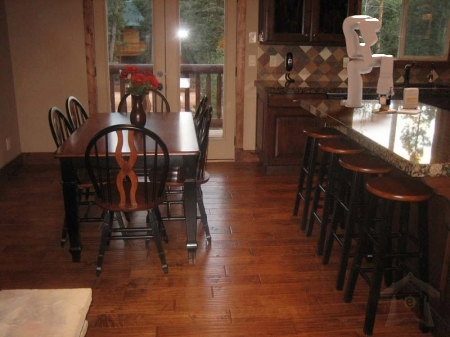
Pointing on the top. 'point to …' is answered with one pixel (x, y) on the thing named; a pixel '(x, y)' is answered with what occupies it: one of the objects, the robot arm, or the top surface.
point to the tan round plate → (384, 110)
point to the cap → (383, 100)
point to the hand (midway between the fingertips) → (384, 104)
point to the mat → (409, 111)
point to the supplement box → (410, 98)
